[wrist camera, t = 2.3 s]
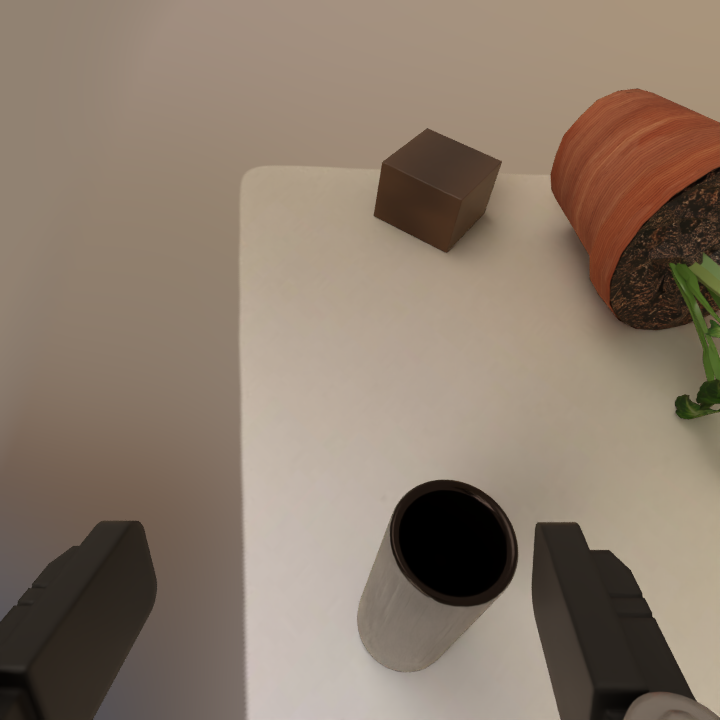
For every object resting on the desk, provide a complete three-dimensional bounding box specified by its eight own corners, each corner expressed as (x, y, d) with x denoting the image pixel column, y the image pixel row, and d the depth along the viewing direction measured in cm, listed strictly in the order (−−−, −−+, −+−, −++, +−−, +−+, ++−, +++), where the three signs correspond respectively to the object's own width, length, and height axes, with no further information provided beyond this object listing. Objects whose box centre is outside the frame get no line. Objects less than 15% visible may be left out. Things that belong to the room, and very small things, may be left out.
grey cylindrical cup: (468, 627, 28) (545, 547, 20) (402, 696, 25) (459, 638, 18) (403, 555, 30) (450, 456, 22) (337, 614, 27) (362, 528, 19)
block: (373, 215, 47) (381, 161, 43) (415, 180, 51) (427, 127, 47) (446, 253, 45) (462, 200, 41) (484, 213, 49) (502, 161, 45)
